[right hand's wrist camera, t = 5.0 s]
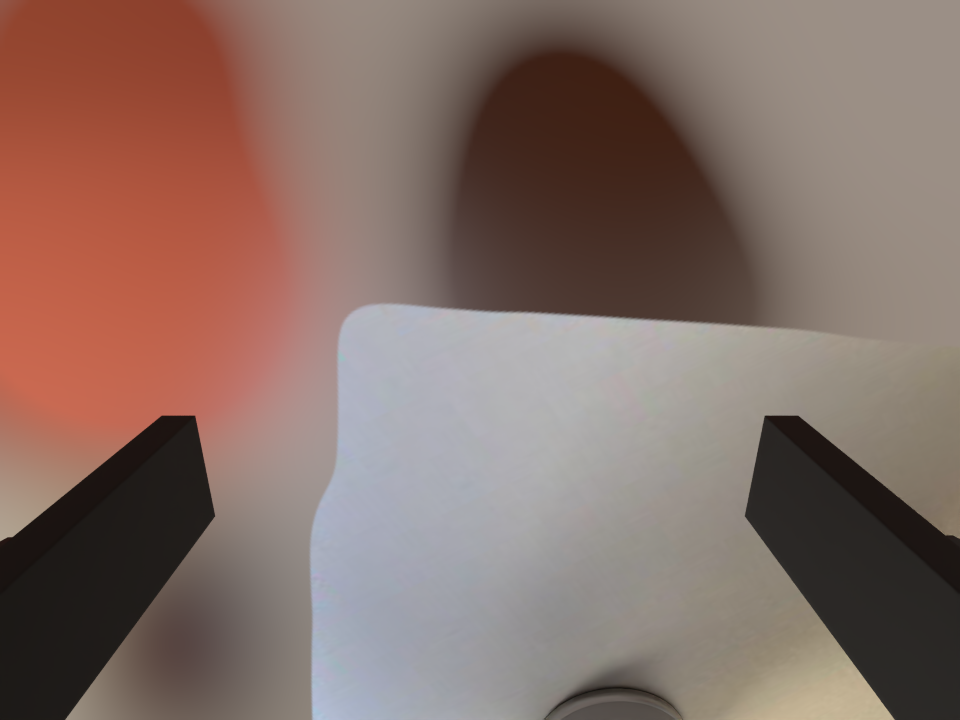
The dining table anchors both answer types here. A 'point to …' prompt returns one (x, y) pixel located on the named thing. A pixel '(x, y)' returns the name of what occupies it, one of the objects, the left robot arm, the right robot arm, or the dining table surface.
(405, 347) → the dining table surface
